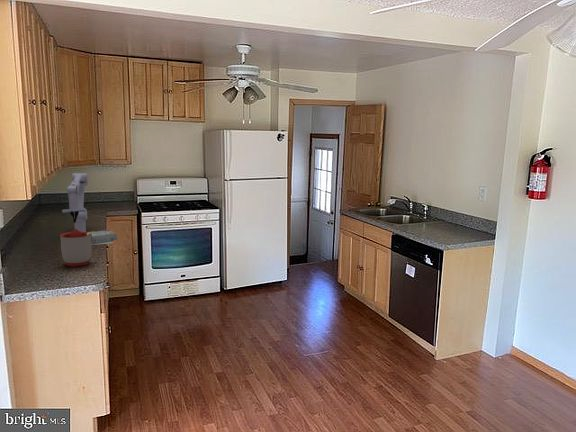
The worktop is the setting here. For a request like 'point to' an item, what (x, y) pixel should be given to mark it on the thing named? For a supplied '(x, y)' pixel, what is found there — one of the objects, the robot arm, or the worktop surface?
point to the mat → (103, 243)
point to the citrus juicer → (76, 248)
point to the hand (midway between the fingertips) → (74, 222)
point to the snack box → (102, 236)
